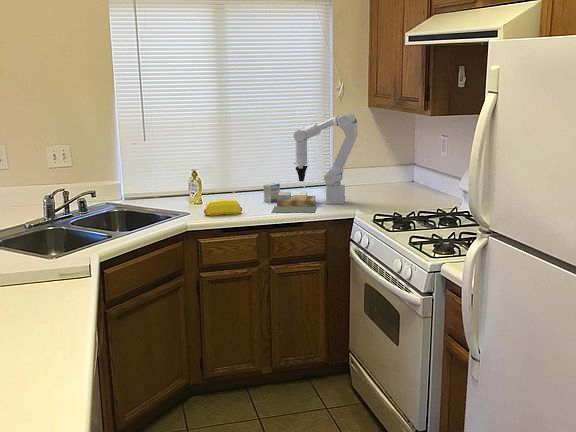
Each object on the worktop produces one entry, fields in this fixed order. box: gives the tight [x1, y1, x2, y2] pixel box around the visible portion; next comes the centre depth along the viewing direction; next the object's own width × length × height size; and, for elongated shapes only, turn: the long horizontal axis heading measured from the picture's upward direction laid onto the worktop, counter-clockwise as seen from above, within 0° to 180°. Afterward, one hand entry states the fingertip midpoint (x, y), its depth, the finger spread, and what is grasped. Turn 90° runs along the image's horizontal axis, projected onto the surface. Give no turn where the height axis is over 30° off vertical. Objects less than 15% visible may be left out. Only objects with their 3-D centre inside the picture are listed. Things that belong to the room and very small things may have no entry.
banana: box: [203, 199, 243, 217], centre depth 298 cm, size 18×7×8 cm
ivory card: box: [293, 191, 308, 200], centre depth 317 cm, size 6×9×2 cm, turn 175°
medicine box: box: [263, 182, 281, 204], centre depth 326 cm, size 8×4×9 cm, turn 143°
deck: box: [276, 195, 317, 206], centre depth 317 cm, size 18×12×3 cm, turn 85°
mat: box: [271, 205, 317, 214], centre depth 304 cm, size 20×14×1 cm
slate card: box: [278, 191, 292, 200], centre depth 318 cm, size 6×9×2 cm, turn 175°
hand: (301, 180), depth 325 cm, fingers open, 3 cm apart
